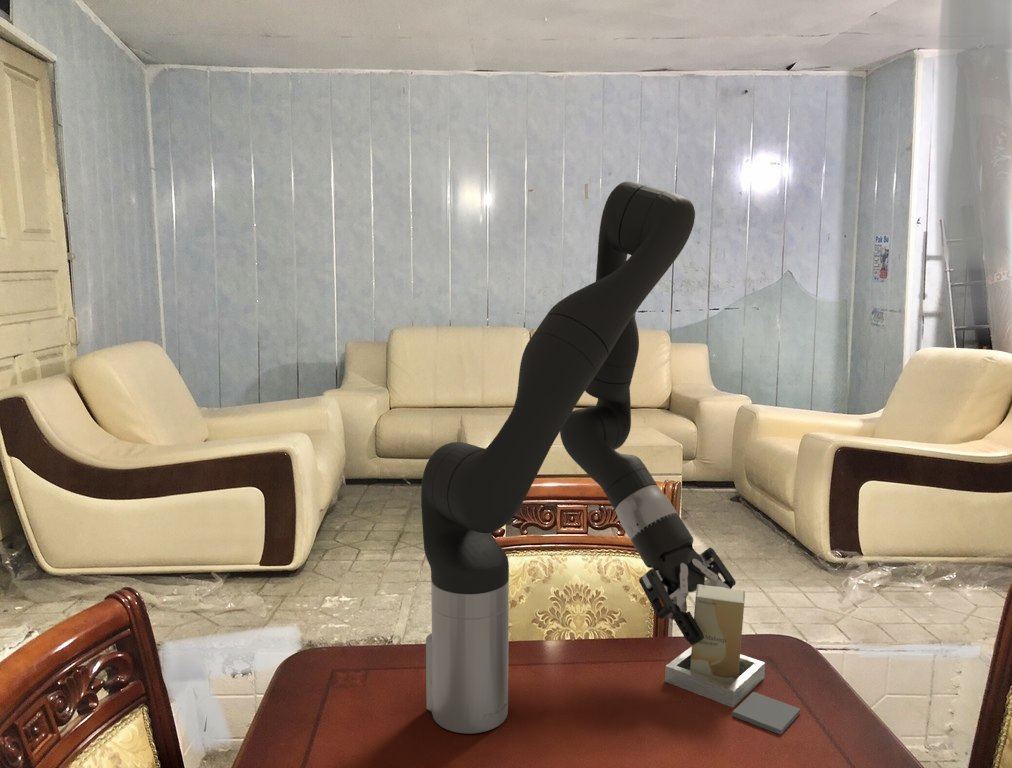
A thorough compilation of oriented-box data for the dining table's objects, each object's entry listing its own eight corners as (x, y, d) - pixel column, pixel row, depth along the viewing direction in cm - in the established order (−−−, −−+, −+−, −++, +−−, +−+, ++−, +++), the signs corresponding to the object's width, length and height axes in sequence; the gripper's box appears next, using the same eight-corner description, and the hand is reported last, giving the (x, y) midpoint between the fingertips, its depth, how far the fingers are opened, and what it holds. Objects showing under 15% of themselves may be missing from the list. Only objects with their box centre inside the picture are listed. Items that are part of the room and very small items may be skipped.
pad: (732, 715, 98) (732, 711, 98) (753, 696, 102) (753, 691, 102) (780, 734, 94) (781, 730, 94) (800, 713, 99) (800, 708, 98)
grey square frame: (665, 681, 106) (665, 665, 105) (698, 655, 113) (699, 640, 113) (733, 707, 100) (733, 691, 99) (764, 678, 107) (765, 662, 106)
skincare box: (688, 684, 105) (692, 595, 103) (691, 668, 109) (694, 582, 107) (740, 692, 103) (745, 602, 101) (740, 675, 107) (745, 588, 106)
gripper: (634, 522, 105) (702, 636, 98) (701, 502, 114) (768, 604, 107) (603, 550, 110) (667, 660, 103) (670, 528, 119) (732, 628, 112)
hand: (718, 632), depth 105 cm, fingers open, 8 cm apart
